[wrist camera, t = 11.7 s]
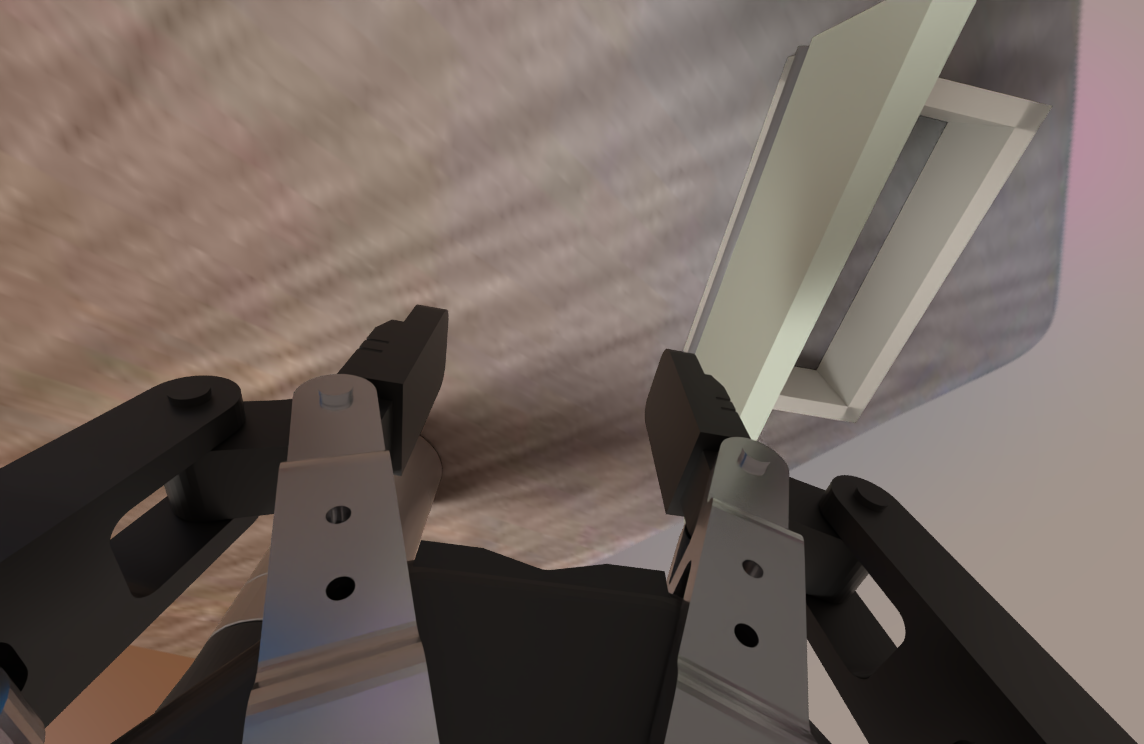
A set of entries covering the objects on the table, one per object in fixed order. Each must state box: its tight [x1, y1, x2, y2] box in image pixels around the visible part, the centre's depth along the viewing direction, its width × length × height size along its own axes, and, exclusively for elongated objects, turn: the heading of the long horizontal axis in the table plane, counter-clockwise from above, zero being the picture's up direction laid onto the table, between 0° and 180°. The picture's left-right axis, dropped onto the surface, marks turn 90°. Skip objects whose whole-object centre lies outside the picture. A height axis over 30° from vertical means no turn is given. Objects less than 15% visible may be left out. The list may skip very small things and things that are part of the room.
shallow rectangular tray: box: [683, 46, 1052, 423], centre depth 30 cm, size 20×14×5 cm
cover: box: [684, 0, 977, 525], centre depth 22 cm, size 21×12×1 cm
